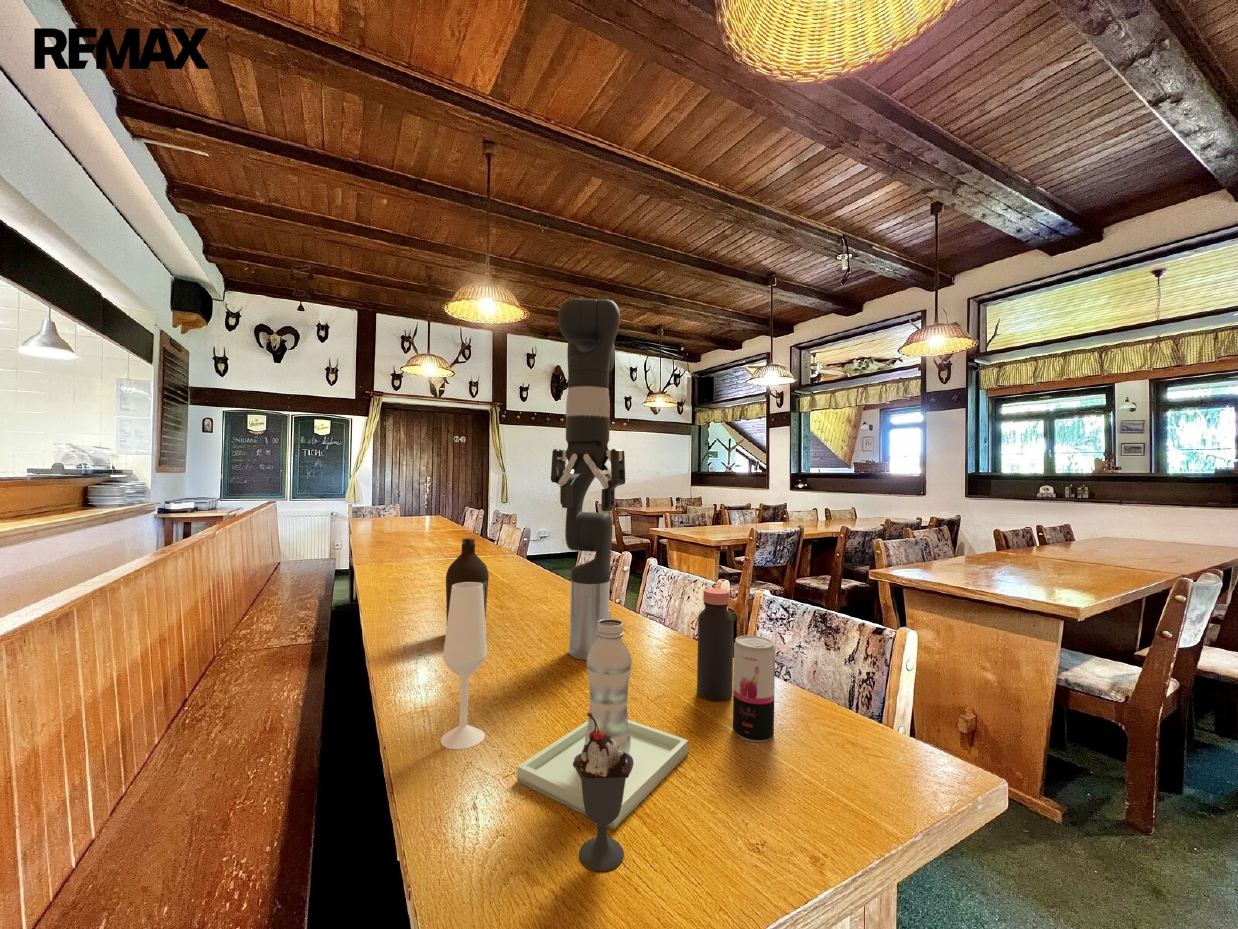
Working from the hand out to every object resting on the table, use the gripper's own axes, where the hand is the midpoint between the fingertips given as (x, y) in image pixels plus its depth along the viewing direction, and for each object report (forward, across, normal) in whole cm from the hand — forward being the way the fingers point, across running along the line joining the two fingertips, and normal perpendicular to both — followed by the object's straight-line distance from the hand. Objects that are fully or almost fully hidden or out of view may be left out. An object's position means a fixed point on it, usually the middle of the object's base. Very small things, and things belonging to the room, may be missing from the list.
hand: (586, 509), depth 86 cm
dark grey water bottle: (+37, -15, -22) cm, 46 cm away
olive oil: (+38, +51, -17) cm, 66 cm away
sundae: (+35, -20, +24) cm, 47 cm away
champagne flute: (+36, +11, +16) cm, 41 cm away
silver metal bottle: (+35, -12, +10) cm, 38 cm away
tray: (+36, -12, +10) cm, 39 cm away
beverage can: (+36, -26, -12) cm, 46 cm away
